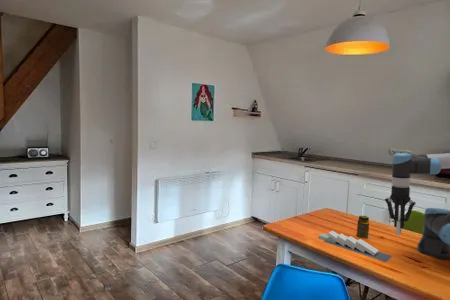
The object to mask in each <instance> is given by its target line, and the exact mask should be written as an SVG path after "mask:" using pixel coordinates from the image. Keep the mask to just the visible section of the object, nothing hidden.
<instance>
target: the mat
mask: <svg viewBox="0 0 450 300" xmlns="http://www.w3.org/2000/svg"><path fill="white" fill-rule="evenodd" d="M322 242H323V243H327V244H329V245H332V246H336V247H339V248H341V249H345V250H348V251H350V252H353V253H357V254H360V255H363V256H366V257H368V258H371V259H375V260H378V261H381V262H385V263H387V262H388V261H389V260H391V258H392V257H393V255H391V254H388V253H385V252H382V251H378V253H377V254H376V255H375V256H373V255H371V254H370V253H368V252H367V251H365V252H364V253H363V252H362V251H360V250H359V249H357V248H355V249H352V248H351V247H349V246H348V245H345V246H343V245H341V244H340V243H338V242H337V243H332V242H329V241H326V240H323V241H322Z"/></svg>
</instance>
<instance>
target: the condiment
mask: <svg viewBox="0 0 450 300" xmlns="http://www.w3.org/2000/svg"><path fill="white" fill-rule="evenodd" d="M369 219H370V218H369V217H368V216H367V215H359V216H358V220H357V225H356V226H357V227H356V237H357V238H360V239H372V237H370V236H369V232H370V231H369V230H370V222H369V221H370V220H369Z"/></svg>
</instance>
